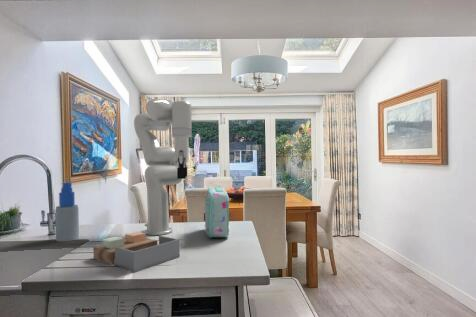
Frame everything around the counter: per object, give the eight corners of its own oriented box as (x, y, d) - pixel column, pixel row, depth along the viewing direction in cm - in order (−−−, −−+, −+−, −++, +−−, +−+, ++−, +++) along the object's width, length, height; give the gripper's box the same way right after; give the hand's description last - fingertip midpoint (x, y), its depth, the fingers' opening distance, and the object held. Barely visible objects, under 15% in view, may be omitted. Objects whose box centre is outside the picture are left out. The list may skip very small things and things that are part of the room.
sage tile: (102, 246, 107) (102, 239, 107) (115, 243, 111) (115, 236, 111) (110, 248, 104) (110, 241, 104) (123, 245, 108) (123, 238, 108)
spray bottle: (59, 242, 130) (58, 183, 131) (53, 239, 137) (52, 182, 137) (81, 238, 137) (80, 182, 137) (75, 235, 143) (74, 181, 143)
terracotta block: (125, 240, 115) (125, 234, 115) (137, 238, 118) (137, 231, 119) (133, 242, 111) (133, 236, 112) (145, 239, 115) (145, 233, 115)
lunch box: (203, 228, 153) (202, 184, 153) (224, 226, 154) (223, 184, 155) (206, 241, 126) (205, 189, 127) (231, 240, 128) (230, 188, 128)
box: (114, 265, 99) (113, 246, 99) (159, 251, 114) (159, 235, 114) (134, 272, 93) (133, 252, 93) (179, 256, 107) (179, 239, 107)
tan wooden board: (93, 258, 107) (93, 246, 107) (138, 246, 122) (138, 236, 122) (112, 264, 100) (112, 252, 100) (157, 251, 114) (157, 240, 114)
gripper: (173, 135, 127) (174, 176, 128) (169, 131, 110) (170, 179, 110) (192, 135, 128) (192, 176, 128) (191, 131, 111) (191, 179, 111)
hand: (182, 177), depth 119 cm, fingers open, 9 cm apart
